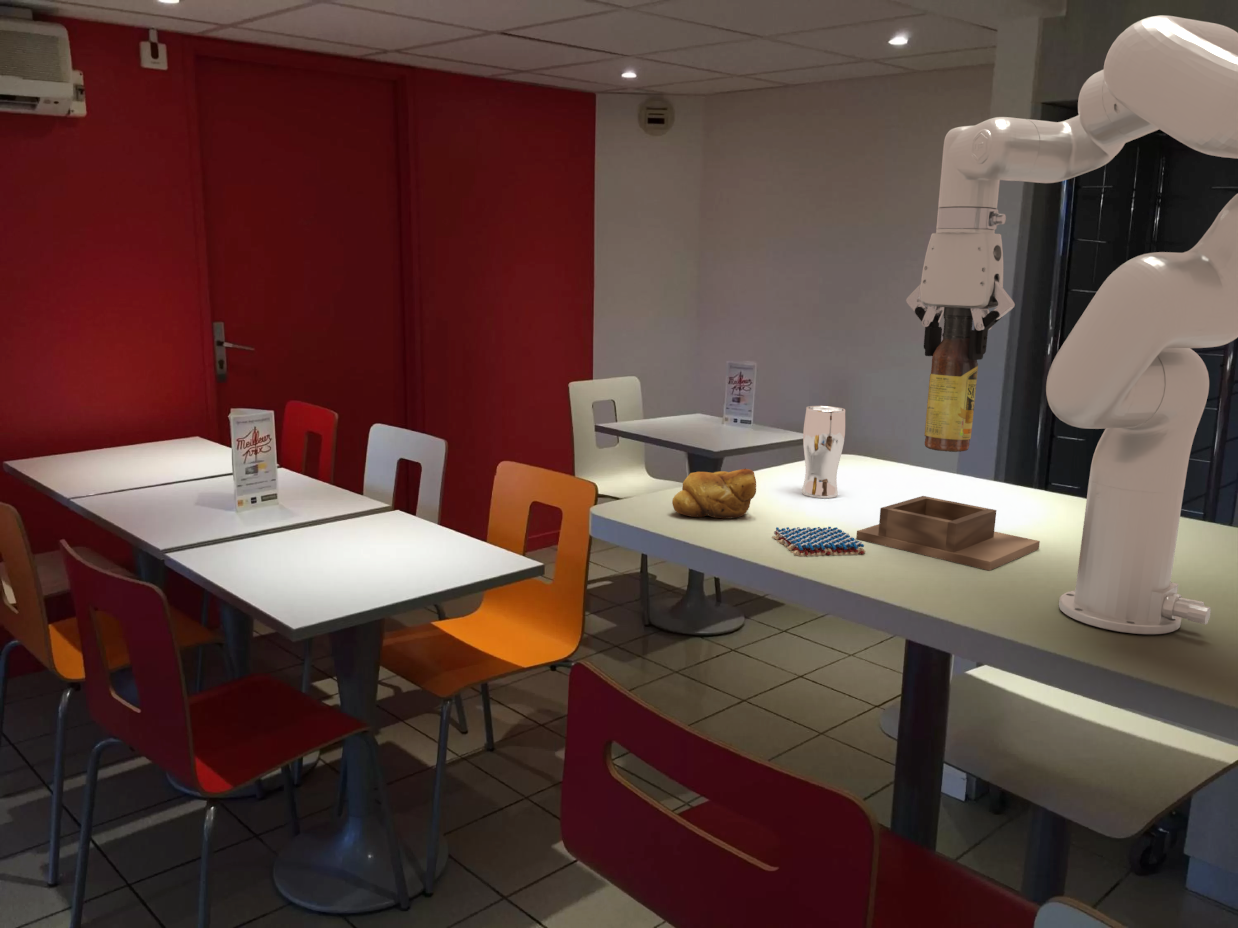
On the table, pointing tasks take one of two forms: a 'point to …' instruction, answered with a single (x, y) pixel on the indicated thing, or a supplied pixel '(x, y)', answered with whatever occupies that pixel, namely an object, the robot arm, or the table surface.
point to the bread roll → (716, 494)
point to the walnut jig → (947, 533)
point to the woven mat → (818, 541)
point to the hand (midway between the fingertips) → (953, 356)
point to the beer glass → (822, 449)
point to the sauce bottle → (952, 386)
